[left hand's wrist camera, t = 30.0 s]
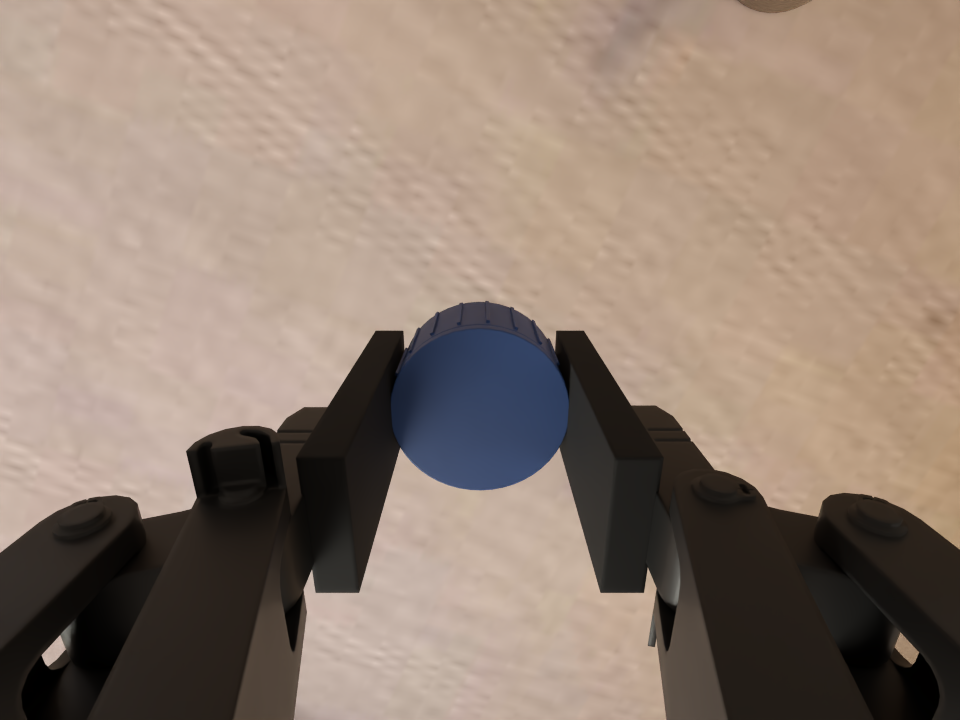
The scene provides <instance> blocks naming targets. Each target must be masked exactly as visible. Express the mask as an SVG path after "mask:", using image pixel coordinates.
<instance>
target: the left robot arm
mask: <svg viewBox="0 0 960 720" xmlns="http://www.w3.org/2000/svg"><path fill="white" fill-rule="evenodd" d="M403 353H404V335H403V331H375V333H374V335H373V336H372V338H371V339H370V341H369V343H368V344H367V346H366V347H365V349H364V350H363V352H362V354H361V355H360V357H359V358H358V360H357V361H356V363H355V365H354V366H353V368H352V369H351V371H350V373H349V374H348V376H347V377H346V379H345V380H344V382H343V384H342V385H341V387H340V388H339V390H338V392H337V393H336V395H335V396H334V398H333V399H332V401H331V403H330V404H329V406H328V407H304V408H302V409H301V410H299V411H297V412H296V413H294V414H293V415H291V416H289V417H288V418H286V420H285V421H284V422H283V424H282V425H281V426H280V428H279V429H278V430H277V433H276V432H275V431H274V430H272V429H270V428H265V427H261V426H241V427H235V428H230V429H225V430H222V431H219V432H216V433H213V434H210V435H208V436H206V437H204V438H202V439H200V440H199V441H197V442H195V443H194V444H193V445H192V446H191V447H190V448H189V449H188V450H187V451H186V453H187V457H188V461H189V465H190V470H191V474H192V478H193V482H194V487H195V491H196V495H197V499H196V501H195V503H194V505H193V507H192V509H190V510H186V511H182V512H177V513H172V514H167V515H162V516H156V517H151V518H146V519H142V518H141V515H140V511H139V508H138V504H137V503H136V502H135V501H134V500H132V499H131V498H129V497H123V496H117V495H115V496H104V497H94V498H89V499H88V500H86V499H85V500H82V501H78V502H76V503H74V504H72V505H70V506H68V507H66V508H63V509H61V510H59V511H57V512H55V513H53V514H52V515H50V516H49V517H47V518H46V519H44V520H42V521H41V522H39V523H38V524H37V525H35V526H34V527H33V528H32V529H30V530H29V531H28V532H26V533H25V534H24V535H23V536H21V537H20V538H19V539H18V540H16V541H15V542H14V543H12V544H11V545H10V546H9V547H7V548H6V549H5V550H3V551H2V552H1V553H0V720H294V712H295V704H296V696H297V687H298V679H299V671H300V663H301V655H302V647H303V639H304V631H305V622H306V614H307V610H306V603H305V597H304V591H303V589H304V587H305V584H306V582H307V580H308V577H309V575H310V572H311V570H312V571H313V577H314V584H315V591H316V593H359V591H360V588H361V584H362V580H363V577H364V573H365V570H366V566H367V563H368V559H369V556H370V552H371V549H372V545H373V542H374V538H375V535H376V531H377V527H378V524H379V520H380V517H381V513H382V510H383V506H384V503H385V499H386V496H387V492H388V489H389V485H390V482H391V478H392V474H393V471H394V467H395V464H396V460H397V457H398V453H399V450H400V446H399V444H398V442H397V440H396V438H395V435H394V432H393V428H392V415H391V393H392V389H393V386H394V383H395V380H396V377H397V376H395V373H396V371H397V368H398V366H399V363H400V361H401V358H402V356H403ZM555 353H556V356H557V358H558V361H559V363H560V365H558V366H559V368H560V371H561V373H562V376H563V378H564V381H565V384H566V387H567V390H568V395H569V410H568V424H567V431H566V434H565V436H564V439H563V441H562V443H561V445H560V451H561V454H562V458H563V461H564V465H565V469H566V472H567V476H568V479H569V483H570V486H571V490H572V493H573V497H574V500H575V504H576V507H577V511H578V515H579V518H580V522H581V525H582V529H583V532H584V536H585V539H586V543H587V546H588V550H589V553H590V557H591V561H592V564H593V568H594V571H595V575H596V578H597V582H598V585H599V589H600V592H601V593H644V589H645V582H646V575H647V568H649V571H650V573H651V575H652V578H653V580H654V583H655V585H656V587H657V591H656V597H655V603H654V609H653V616H652V622H651V628H650V635H649V642H648V646H652V647H655V643H656V638H657V646H658V654H659V662H660V670H661V678H662V686H663V694H664V702H665V711H666V719H667V720H960V550H959V549H958V548H957V547H955V546H954V545H953V544H952V543H950V542H949V541H948V540H946V539H945V538H944V537H943V536H941V535H940V534H939V533H937V532H936V531H935V530H934V529H932V528H931V527H930V526H928V525H927V524H926V523H925V522H923V521H922V520H921V519H919V518H917V517H916V516H914V515H913V514H911V513H909V512H908V511H906V510H905V509H903V508H900V507H898V506H896V505H893V504H891V503H889V502H888V501H886V500H884V499H880V498H877V497H874V498H873V497H872V496H869V495H864V494H850V493H841V494H835V495H830V496H829V497H827V498H826V499H825V500H824V501H823V502H822V506H821V509H820V513H819V516H818V517H816V516H810V515H805V514H800V513H795V512H789V511H784V510H779V509H775V508H771V507H768V506H767V504H766V502H765V500H764V498H763V496H762V495H761V494H760V493H759V492H758V490H757V489H756V488H755V487H754V486H752V485H751V484H749V483H748V482H746V481H745V480H743V479H741V478H739V477H736V476H734V475H731V474H729V473H726V472H722V471H717V470H714V469H713V467H712V466H711V465H710V463H709V462H708V461H707V460H706V458H705V457H704V456H703V454H702V453H701V452H700V450H699V449H698V448H697V447H696V445H695V444H694V443H693V442H691V439H690V438H689V436H688V435H687V434H686V432H685V431H683V429H682V427H681V426H680V425H679V423H678V422H677V421H676V419H675V418H674V417H673V416H672V415H670V414H668V413H667V412H665V411H664V410H662V409H660V408H659V407H657V406H631V405H630V403H629V402H628V400H627V398H626V397H625V395H624V394H623V392H622V391H621V389H620V387H619V386H618V384H617V383H616V381H615V379H614V378H613V376H612V375H611V373H610V372H609V370H608V368H607V367H606V365H605V364H604V362H603V360H602V359H601V357H600V356H599V354H598V353H597V351H596V349H595V348H594V346H593V345H592V343H591V341H590V340H589V338H588V337H587V335H586V334H585V332H584V331H556V346H555ZM900 632H901V633H902V634H903V635H904V636H905V637H906V639H907V640H908V641H909V642H910V643H911V644H912V645H913V646H914V647H915V648H916V649H917V650H918V651H919V654H918V657H917V659H916V662H915V663H914V664H913V665H912V664H910V663H909V662H908V661H907V660H906V659H905V658H904V657H903V656H902V655H901V654H900V653H899V652H898V651H897V650H896V649H895V644H896V642H897V639H898V637H899V634H900ZM60 635H61V638H62V640H63V643H64V646H65V648H66V650H65V651H64V652H63V653H62V655H61V656H60V657H59V658H58V659H57V660H56V661H55V662H53V663H52V664H51V665H50V666H47V665H45V663H44V660H43V658H42V656H41V655H42V654H43V653H44V652H45V651H46V650H47V649H48V647H49V646H50V645H51V644H52V643H53V642H54V641H55V640H56V639H57V638H58V637H59V636H60Z"/></svg>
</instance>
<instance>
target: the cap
mask: <svg viewBox="0 0 960 720" xmlns="http://www.w3.org/2000/svg"><path fill="white" fill-rule="evenodd" d="M558 365H560V363H559V361H558V358H557V356H556V353H555V351H554V349H553V346H552V344H551V341H550V339H549V338H548V339H547V338H546V337H545V335H544V334H543V332H542V331H541V330H540V329H539V328H538V327H537V325H536V323H535V321H534V320H532V321H531V320H530V319H529V318H528V317H526V316H524V315H523V314H521V313H520V312H518V311H516V310H514V308H513V307H511V308H509V307H506V306H503V305H500V304H494V303H489V301H485V302H472V303H465V304H463V303H460V304H459V305H456V306H453V307H451V308H448V309H446V310H444V311H442V312H440V313H439V312H437V313H436V314H435V316H434V317H432V318H431V319H429V320H428V321H427V322H426V323H425V324H424V325H423V326H422V327H421V328H418V329H417V331H416V333H415V336H414V338H413V339H412V341H411V343H410V345H409V347H408V348H405V351H404V353H403V356H402V358H401V361H400V363H399V366H398V368H397V371H396V373H395V376H397V377H396V380H395V383H394V386H393V389H392V393H391V415H392V428H393V432H394V435H395V438H396V440H397V442H398V444H399V446H400V447H401V449H402V450H403V452H404V454H405V455H406V456H407V457H408V458H409V460H410V461H411V462H412V463H413V464H414V465H415V466H416V467H417V468H419V469H420V470H421V471H422V472H424V473H425V474H427V475H428V476H430V477H431V478H433V479H435V480H437V481H439V482H442V483H444V484H447V485H449V486H453V487H457V488H462V489H468V490H492V489H498V488H503V487H506V486H510V485H513V484H516V483H518V482H520V481H522V480H525V479H526V478H528V477H530V476H531V475H533V474H534V473H536V472H537V471H538V470H540V469H541V468H542V467H543V466H544V465H545V464H546V463H547V462H549V461H550V459H551V458H552V457H553V456H554V454H555V453H556V452H557V450H558V448H559V447H560V445H561V443H562V441H563V439H564V436H565V434H566V431H567V424H568V410H569V395H568V390H567V387H566V384H565V381H564V378H563V376H562V373H561V371H560V368H559V366H558Z"/></svg>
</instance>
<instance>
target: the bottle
mask: <svg viewBox="0 0 960 720" xmlns="http://www.w3.org/2000/svg"><path fill="white" fill-rule="evenodd" d="M738 1H739V2H741V3H742V4H743V5H745V6H747V7H749V8H751V9H754V10H757V11H760V12H767V13H778V12H784V11H788V10H792V9H795V8H797V7H799V6H802V5H804V4H806V3H808V2H810V1H812V0H738Z"/></svg>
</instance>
